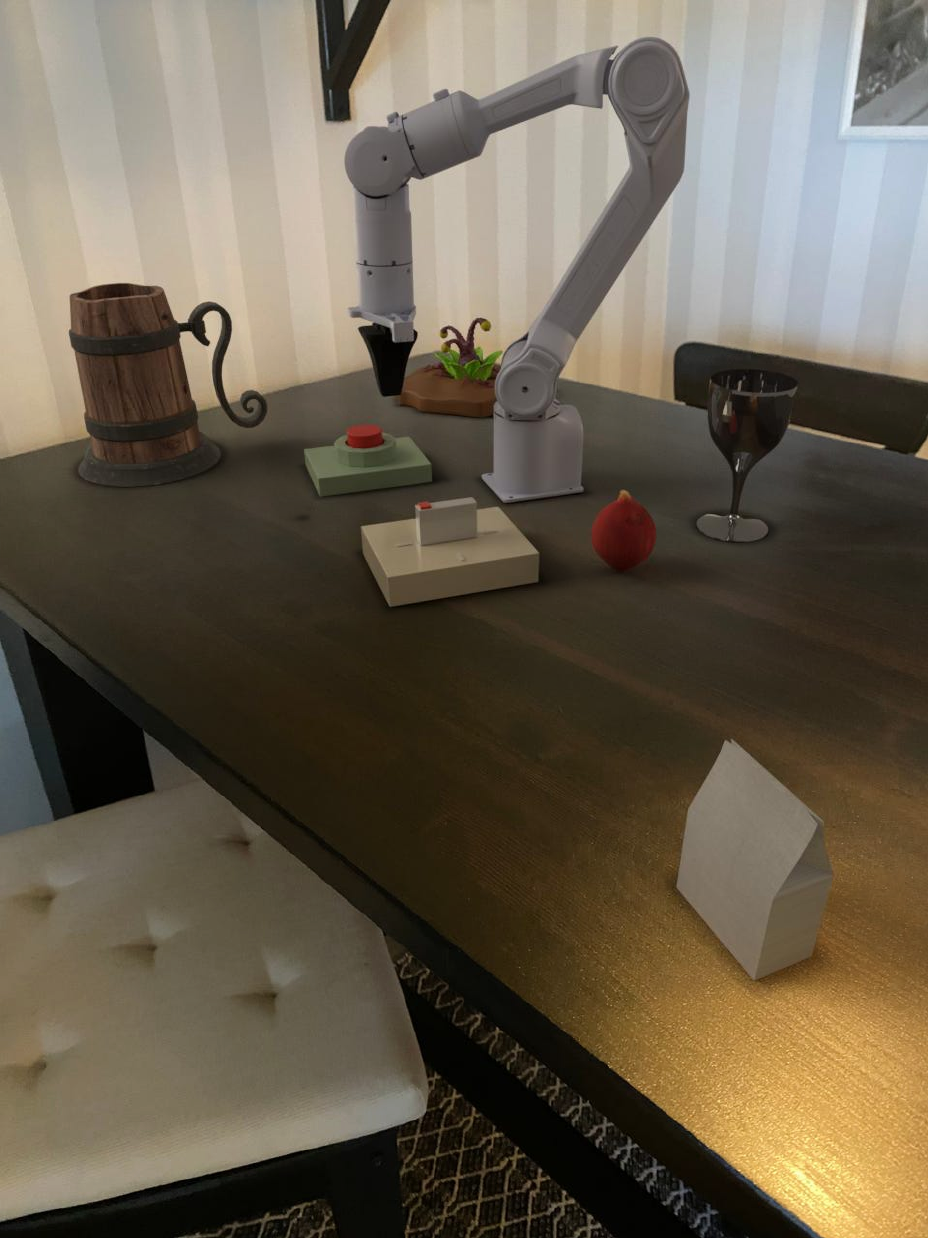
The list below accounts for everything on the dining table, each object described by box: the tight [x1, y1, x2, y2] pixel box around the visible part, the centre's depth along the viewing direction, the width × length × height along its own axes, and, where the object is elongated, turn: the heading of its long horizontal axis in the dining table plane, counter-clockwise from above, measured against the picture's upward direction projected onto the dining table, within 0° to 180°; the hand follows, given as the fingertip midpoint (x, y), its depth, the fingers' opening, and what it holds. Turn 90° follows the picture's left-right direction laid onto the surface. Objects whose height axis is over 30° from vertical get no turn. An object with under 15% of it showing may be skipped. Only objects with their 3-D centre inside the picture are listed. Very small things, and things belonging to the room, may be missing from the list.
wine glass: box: [695, 368, 799, 543], centre depth 88 cm, size 8×8×15 cm
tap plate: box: [360, 506, 540, 608], centre depth 84 cm, size 14×11×3 cm
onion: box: [590, 489, 657, 573], centre depth 82 cm, size 6×6×8 cm
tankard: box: [68, 282, 268, 488], centre depth 107 cm, size 24×17×20 cm
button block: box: [303, 432, 433, 498], centre depth 105 cm, size 13×10×4 cm
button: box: [346, 424, 383, 449], centre depth 104 cm, size 4×4×2 cm
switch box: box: [414, 496, 478, 546], centre depth 83 cm, size 6×1×4 cm, turn 108°
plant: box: [396, 317, 504, 419], centre depth 129 cm, size 20×20×11 cm
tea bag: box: [676, 738, 835, 982], centre depth 46 cm, size 4×7×10 cm, turn 23°
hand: (390, 394), depth 98 cm, fingers closed
